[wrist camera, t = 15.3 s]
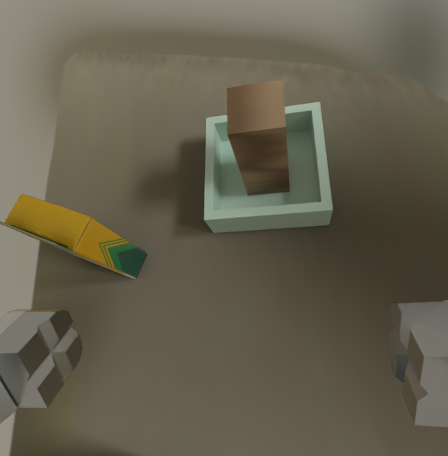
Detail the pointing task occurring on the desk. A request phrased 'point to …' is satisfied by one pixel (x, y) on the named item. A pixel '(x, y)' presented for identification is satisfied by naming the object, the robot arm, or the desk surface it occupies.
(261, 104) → the walnut block
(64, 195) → the desk surface
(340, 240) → the desk surface
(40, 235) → the crayon box
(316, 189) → the tray
